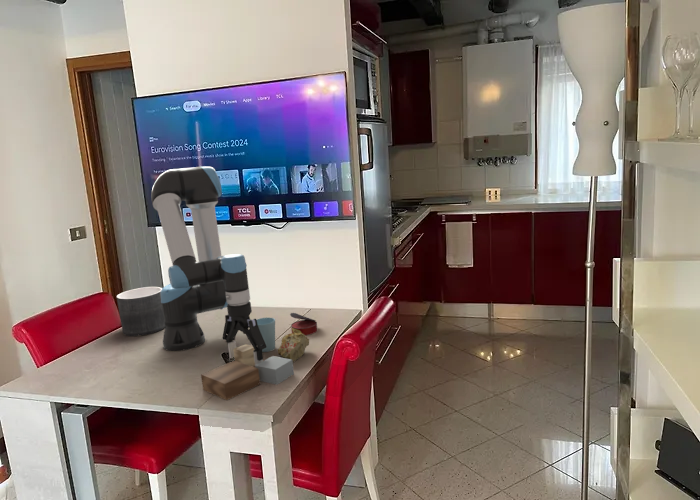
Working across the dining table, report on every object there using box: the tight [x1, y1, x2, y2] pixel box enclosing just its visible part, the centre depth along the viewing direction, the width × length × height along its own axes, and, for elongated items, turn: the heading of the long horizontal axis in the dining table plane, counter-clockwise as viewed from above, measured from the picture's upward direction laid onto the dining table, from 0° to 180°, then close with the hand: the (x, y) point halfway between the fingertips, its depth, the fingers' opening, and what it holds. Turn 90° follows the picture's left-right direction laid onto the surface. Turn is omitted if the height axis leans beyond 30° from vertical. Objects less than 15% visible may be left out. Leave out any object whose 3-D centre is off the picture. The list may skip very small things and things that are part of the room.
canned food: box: [289, 312, 318, 336], centre depth 203 cm, size 11×10×10 cm
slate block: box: [254, 355, 295, 386], centre depth 163 cm, size 8×8×5 cm
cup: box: [256, 317, 276, 353], centre depth 187 cm, size 8×8×10 cm
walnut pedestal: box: [200, 361, 261, 401], centre depth 159 cm, size 12×12×5 cm
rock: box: [277, 332, 310, 363], centre depth 178 cm, size 12×9×10 cm
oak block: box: [233, 343, 255, 367], centre depth 175 cm, size 5×5×6 cm
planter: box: [116, 286, 165, 337], centre depth 221 cm, size 18×18×16 cm
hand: (246, 364), depth 175 cm, fingers open, 13 cm apart
